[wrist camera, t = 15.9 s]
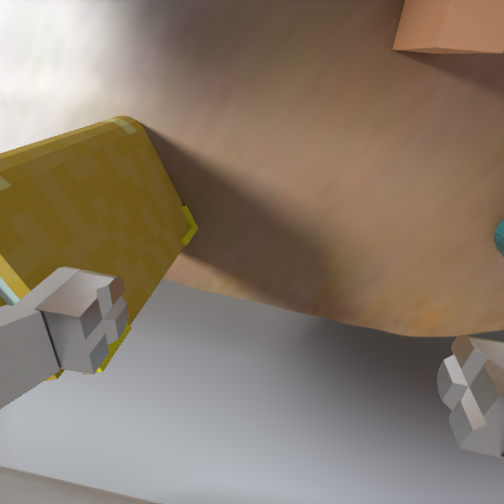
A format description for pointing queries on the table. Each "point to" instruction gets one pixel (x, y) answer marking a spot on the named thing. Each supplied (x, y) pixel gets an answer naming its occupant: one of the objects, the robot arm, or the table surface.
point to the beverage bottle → (500, 237)
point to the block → (451, 27)
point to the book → (90, 213)
